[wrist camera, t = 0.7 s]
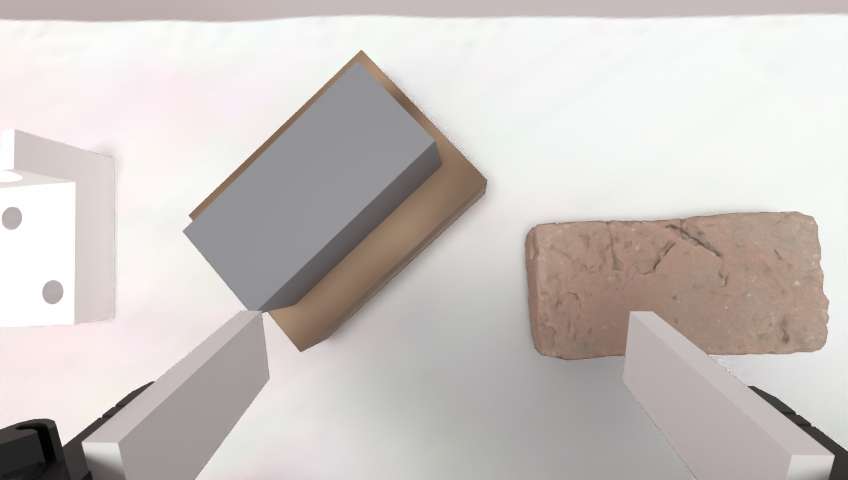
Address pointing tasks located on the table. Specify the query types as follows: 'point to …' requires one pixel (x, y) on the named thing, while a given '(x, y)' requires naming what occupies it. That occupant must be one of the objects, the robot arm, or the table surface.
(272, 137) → the tower base
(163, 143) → the table surface
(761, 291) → the brick
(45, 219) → the bracket
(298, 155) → the tower top
